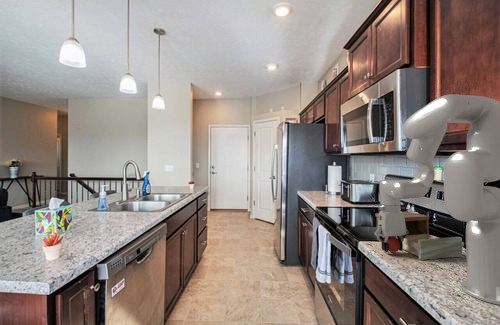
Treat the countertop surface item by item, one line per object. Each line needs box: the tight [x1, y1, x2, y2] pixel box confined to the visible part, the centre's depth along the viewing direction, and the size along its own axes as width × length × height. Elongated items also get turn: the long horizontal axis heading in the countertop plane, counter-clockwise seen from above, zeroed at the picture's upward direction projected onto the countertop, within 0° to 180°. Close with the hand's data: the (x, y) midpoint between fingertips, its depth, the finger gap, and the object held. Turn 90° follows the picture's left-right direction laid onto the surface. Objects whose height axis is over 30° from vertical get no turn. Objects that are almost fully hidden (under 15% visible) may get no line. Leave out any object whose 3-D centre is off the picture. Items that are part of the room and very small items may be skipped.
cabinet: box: [374, 210, 430, 242], centre depth 117 cm, size 12×19×14 cm
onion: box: [387, 236, 400, 254], centre depth 103 cm, size 6×6×8 cm
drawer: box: [403, 233, 463, 261], centre depth 103 cm, size 15×19×8 cm
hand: (392, 250), depth 103 cm, fingers closed on onion, 5 cm apart
